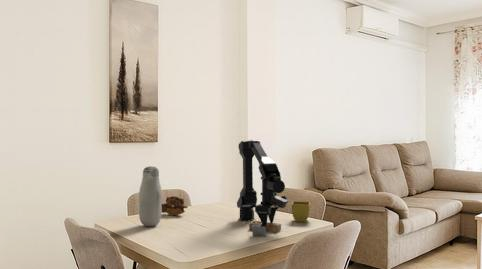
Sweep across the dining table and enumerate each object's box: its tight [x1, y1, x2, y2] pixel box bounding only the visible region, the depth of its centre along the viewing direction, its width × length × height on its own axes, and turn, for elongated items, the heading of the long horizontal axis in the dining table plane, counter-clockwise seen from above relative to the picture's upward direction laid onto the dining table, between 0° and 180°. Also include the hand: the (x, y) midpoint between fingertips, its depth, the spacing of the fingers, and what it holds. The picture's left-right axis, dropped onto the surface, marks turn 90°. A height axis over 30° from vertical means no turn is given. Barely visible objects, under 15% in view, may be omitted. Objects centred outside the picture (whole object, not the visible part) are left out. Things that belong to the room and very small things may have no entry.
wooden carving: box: [161, 195, 189, 216], centre depth 217 cm, size 16×5×10 cm, turn 72°
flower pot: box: [291, 200, 311, 223], centre depth 204 cm, size 9×9×9 cm
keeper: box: [252, 224, 267, 238], centre depth 175 cm, size 4×6×4 cm
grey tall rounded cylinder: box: [138, 165, 163, 227], centre depth 192 cm, size 10×10×28 cm
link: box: [248, 220, 282, 233], centre depth 184 cm, size 13×5×3 cm, turn 67°
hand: (268, 224), depth 184 cm, fingers open, 9 cm apart
